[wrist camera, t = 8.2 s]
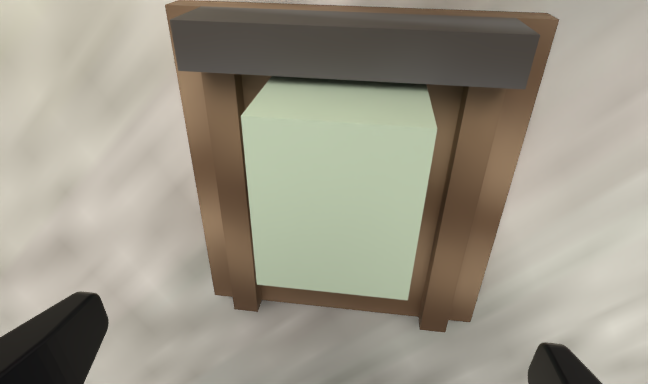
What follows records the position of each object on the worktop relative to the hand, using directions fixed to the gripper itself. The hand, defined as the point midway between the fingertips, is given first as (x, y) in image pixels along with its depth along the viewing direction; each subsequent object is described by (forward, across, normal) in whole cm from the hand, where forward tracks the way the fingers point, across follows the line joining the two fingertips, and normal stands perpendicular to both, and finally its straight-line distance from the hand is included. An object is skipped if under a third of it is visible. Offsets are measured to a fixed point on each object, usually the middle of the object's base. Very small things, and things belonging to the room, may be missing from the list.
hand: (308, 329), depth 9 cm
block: (+9, 0, 0) cm, 9 cm away
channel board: (+10, 0, +2) cm, 11 cm away
